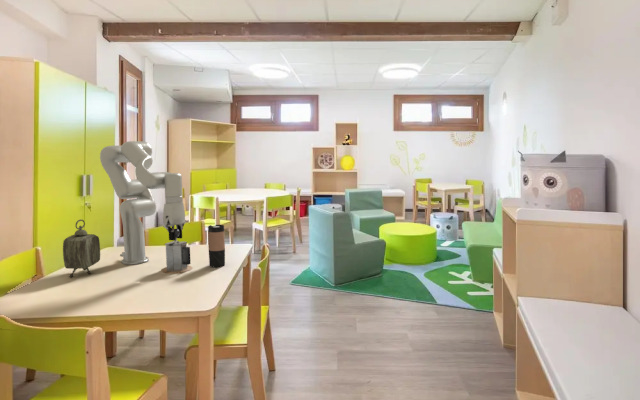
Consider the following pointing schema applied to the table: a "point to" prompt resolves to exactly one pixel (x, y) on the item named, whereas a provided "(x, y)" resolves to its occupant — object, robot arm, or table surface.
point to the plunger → (176, 234)
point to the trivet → (176, 272)
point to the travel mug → (216, 246)
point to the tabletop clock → (81, 250)
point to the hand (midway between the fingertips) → (175, 238)
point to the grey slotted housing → (177, 256)
